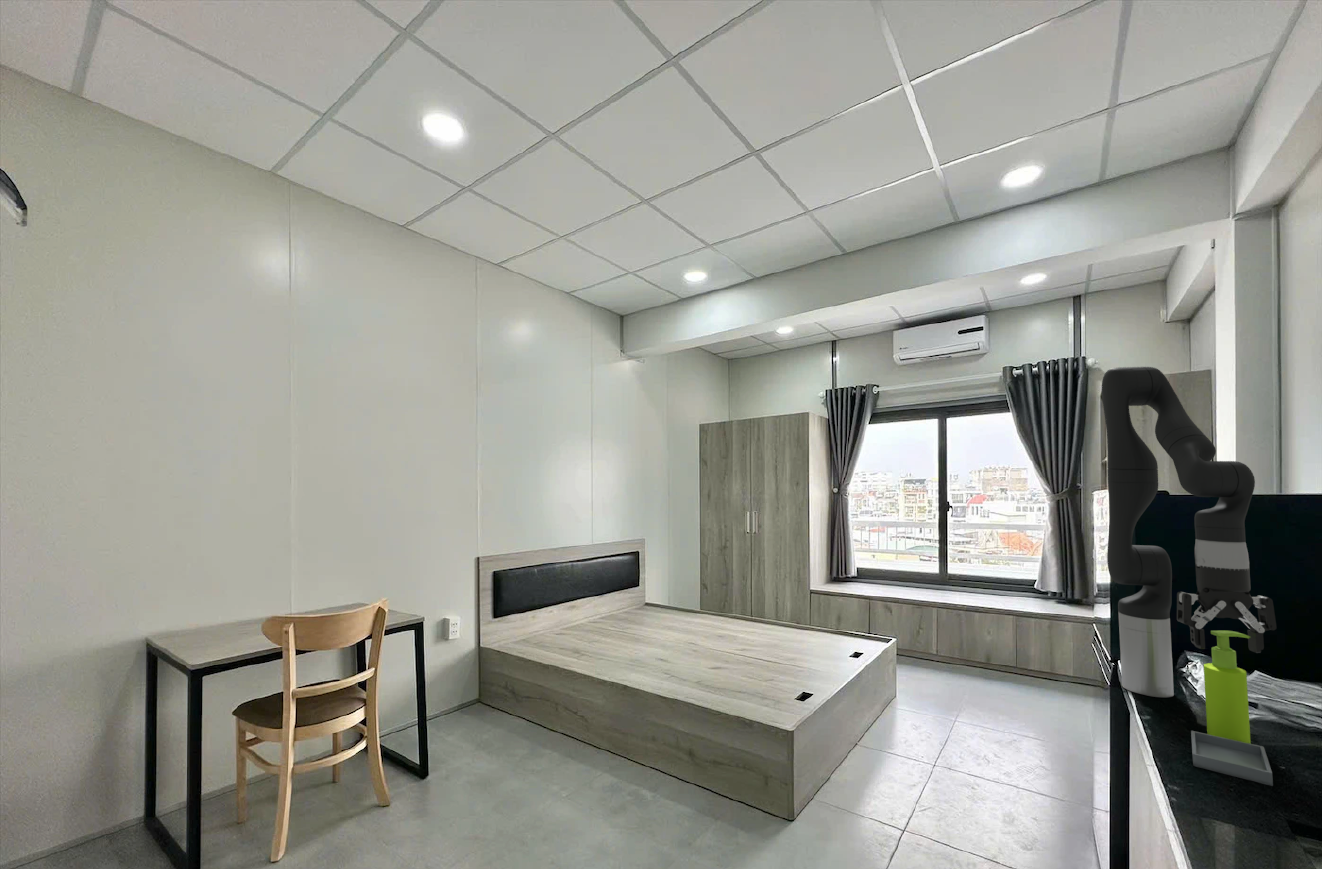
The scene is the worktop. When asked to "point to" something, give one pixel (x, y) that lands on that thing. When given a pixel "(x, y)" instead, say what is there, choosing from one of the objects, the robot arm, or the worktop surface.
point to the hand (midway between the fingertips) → (1226, 649)
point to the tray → (1231, 757)
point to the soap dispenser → (1226, 692)
